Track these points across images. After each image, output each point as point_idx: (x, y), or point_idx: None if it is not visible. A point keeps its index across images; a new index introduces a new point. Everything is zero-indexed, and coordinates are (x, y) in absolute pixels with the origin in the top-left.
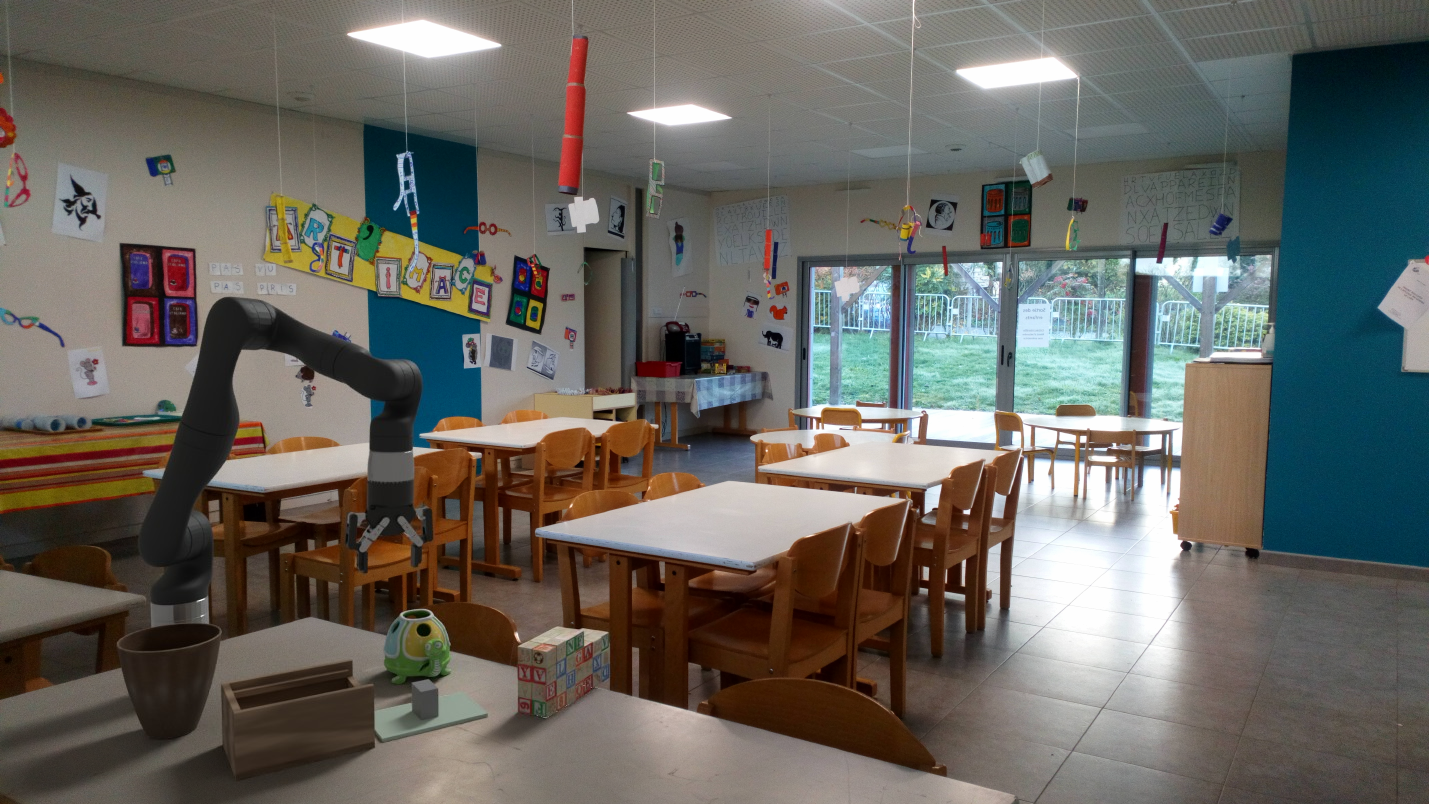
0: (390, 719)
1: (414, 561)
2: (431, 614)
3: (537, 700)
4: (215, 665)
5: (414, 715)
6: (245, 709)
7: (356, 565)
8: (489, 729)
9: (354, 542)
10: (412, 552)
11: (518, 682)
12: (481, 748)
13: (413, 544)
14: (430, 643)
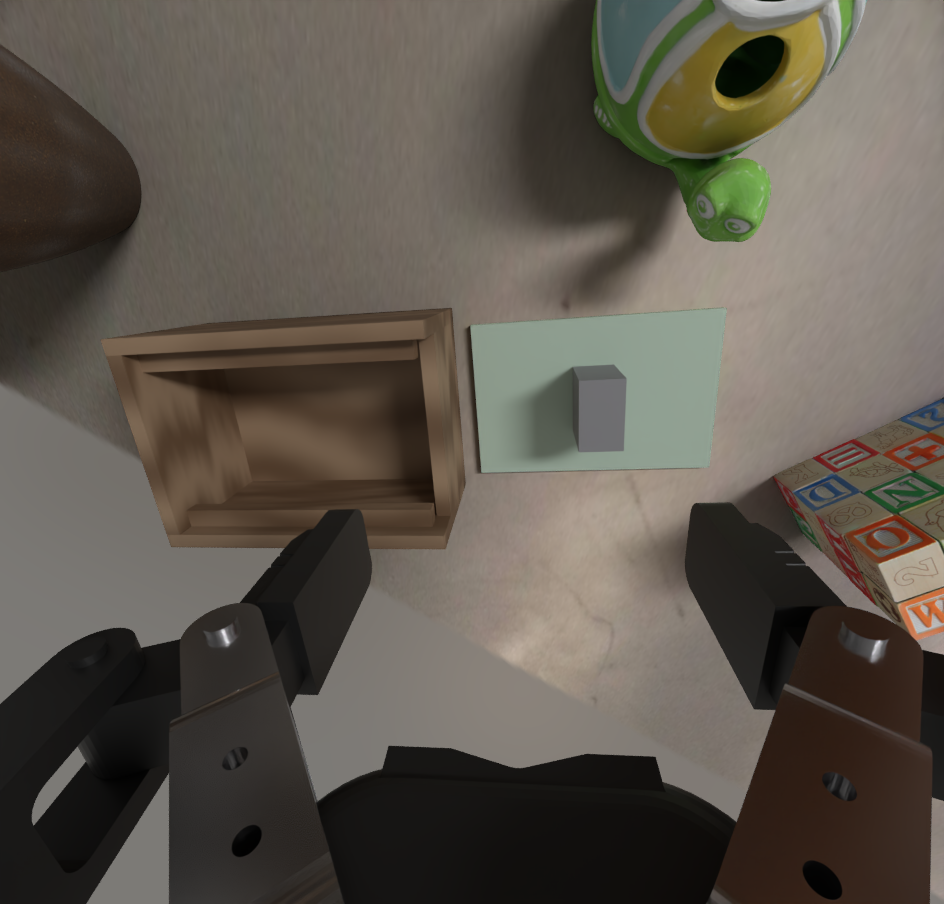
0: (517, 390)
1: (701, 605)
2: None
3: (813, 534)
4: (46, 180)
5: (568, 396)
6: (188, 536)
7: (289, 543)
8: (677, 521)
9: (138, 796)
10: (733, 605)
11: (811, 510)
12: (627, 581)
13: (784, 659)
14: (716, 209)
